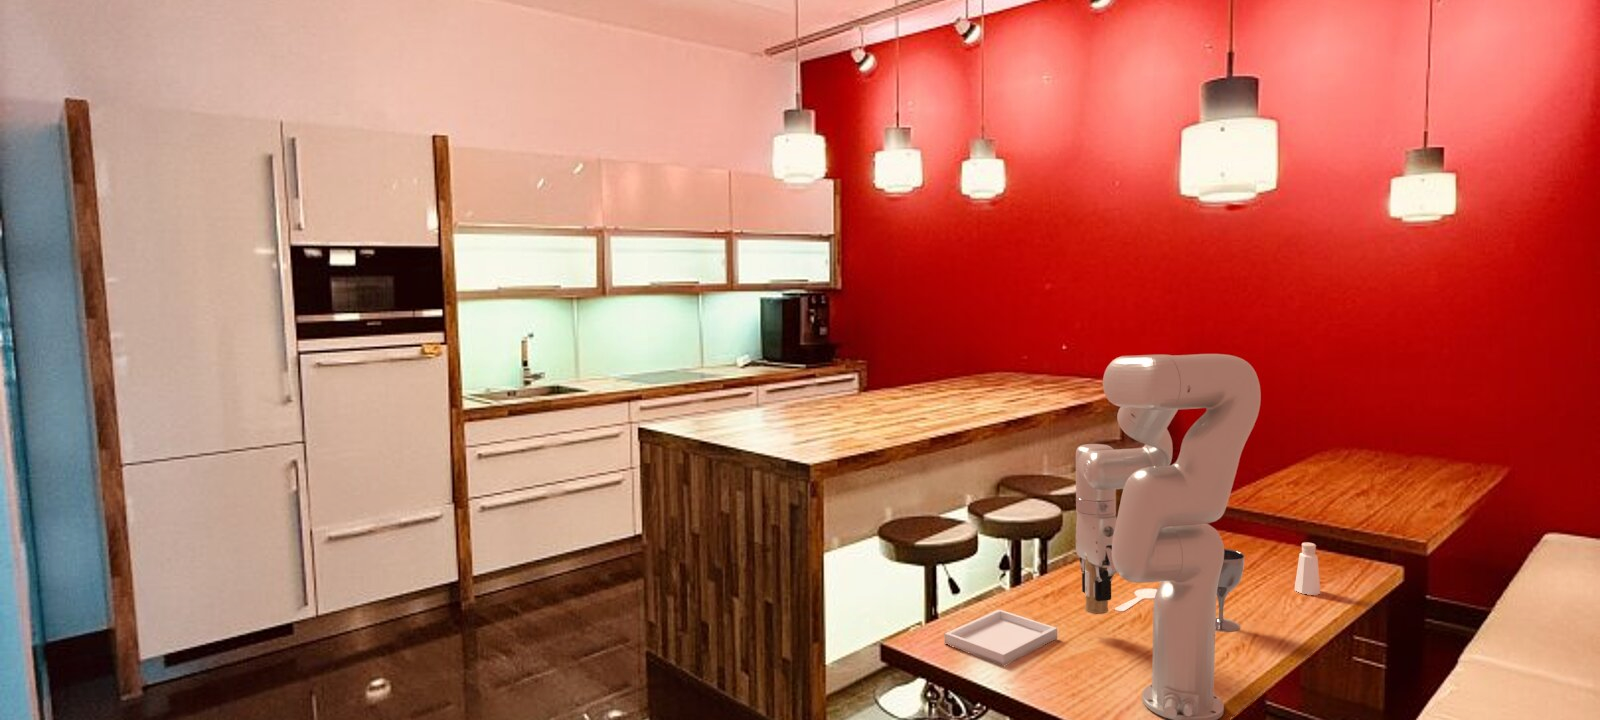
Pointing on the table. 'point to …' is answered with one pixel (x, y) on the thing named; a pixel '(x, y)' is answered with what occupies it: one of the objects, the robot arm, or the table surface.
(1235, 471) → the robot arm
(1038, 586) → the table surface
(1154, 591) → the spoon
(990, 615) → the tray
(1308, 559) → the salt shaker
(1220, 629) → the wine glass
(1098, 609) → the sprinkles bottle
